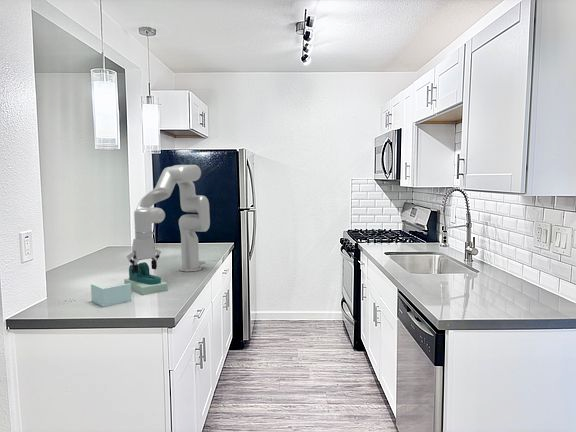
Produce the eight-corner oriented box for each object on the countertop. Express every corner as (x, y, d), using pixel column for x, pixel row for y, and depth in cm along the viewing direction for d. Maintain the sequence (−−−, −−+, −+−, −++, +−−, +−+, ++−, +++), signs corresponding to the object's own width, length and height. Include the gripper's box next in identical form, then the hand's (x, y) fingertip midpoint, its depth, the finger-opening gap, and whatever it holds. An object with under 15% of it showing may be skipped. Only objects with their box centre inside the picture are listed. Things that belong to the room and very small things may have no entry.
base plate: (148, 283, 218) (147, 275, 217) (167, 291, 201) (167, 283, 201) (124, 287, 210) (124, 279, 209) (143, 296, 193) (142, 287, 193)
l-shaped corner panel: (131, 300, 185) (130, 283, 184) (103, 306, 176) (102, 288, 176) (119, 295, 193) (118, 279, 192) (91, 301, 185) (90, 283, 184)
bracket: (129, 279, 208) (128, 263, 207) (141, 277, 213) (140, 261, 212) (151, 285, 197) (151, 268, 196) (163, 282, 202) (163, 265, 202)
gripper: (155, 232, 212) (156, 266, 214) (122, 236, 199) (124, 273, 201) (164, 233, 207) (165, 268, 209) (130, 238, 194) (132, 275, 196)
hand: (145, 270), depth 205 cm, fingers open, 9 cm apart
